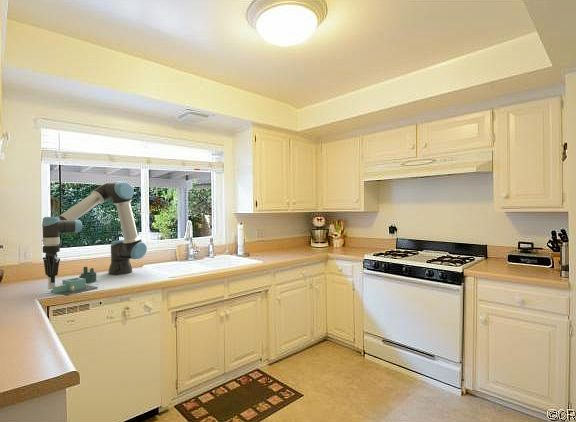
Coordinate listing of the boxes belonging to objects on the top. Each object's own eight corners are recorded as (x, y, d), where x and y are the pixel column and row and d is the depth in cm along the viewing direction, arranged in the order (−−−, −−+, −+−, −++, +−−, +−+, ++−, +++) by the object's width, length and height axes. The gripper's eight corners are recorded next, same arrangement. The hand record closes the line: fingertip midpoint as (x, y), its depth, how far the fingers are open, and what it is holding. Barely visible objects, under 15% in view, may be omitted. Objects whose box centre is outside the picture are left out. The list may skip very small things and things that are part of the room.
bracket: (85, 280, 204) (84, 266, 204) (99, 280, 205) (99, 266, 205) (76, 283, 195) (76, 269, 195) (91, 283, 196) (91, 268, 196)
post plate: (81, 285, 190) (81, 277, 190) (97, 288, 182) (97, 279, 182) (50, 291, 175) (50, 282, 175) (67, 295, 168) (67, 285, 168)
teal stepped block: (77, 286, 184) (77, 277, 184) (85, 287, 180) (85, 278, 180) (50, 291, 172) (50, 282, 172) (58, 293, 168) (58, 283, 168)
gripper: (37, 245, 175) (37, 288, 175) (49, 246, 168) (50, 291, 169) (52, 243, 181) (52, 285, 181) (65, 245, 175) (65, 288, 175)
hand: (51, 288), depth 175 cm, fingers closed
